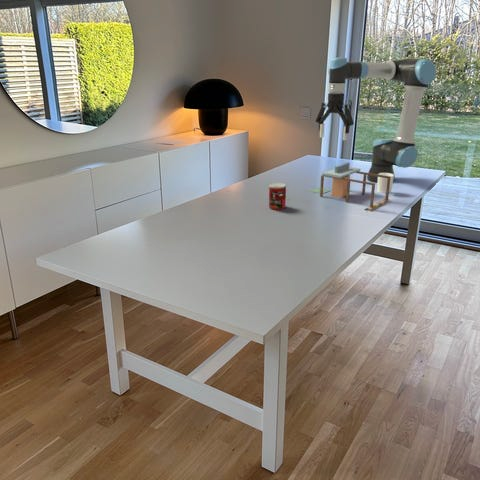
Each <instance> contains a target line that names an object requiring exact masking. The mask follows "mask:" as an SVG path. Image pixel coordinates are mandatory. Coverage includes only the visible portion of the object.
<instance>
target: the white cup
mask: <svg viewBox="0 0 480 480" xmlns="http://www.w3.org/2000/svg"><path fill="white" fill-rule="evenodd" d="M378 175H384V176H390V177H391V179H390V187H389V194H391V193H392V189H393V184H394V181H393V179H394V175H395V173H394V174H391V173H379V174H378ZM387 180H388V178H382V177H378V182H376V183H377V185H376V186H377V187H376V188H377V192H378V193H381V194H386V189H387Z"/></svg>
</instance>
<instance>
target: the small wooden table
mask: <svg viewBox="0 0 480 480" xmlns="http://www.w3.org/2000/svg"><path fill="white" fill-rule="evenodd" d="M355 174H360V175H363V177H362V179H363V180H359V179H353V178H350V179H348V178H338V177H332V176H327V175H323V173H322V174H321V175H320V187H319V188H320V194H319V197H320V198H323V196H324V194H323V189H324V181H325V178H331V179H333V178H335V179H341V180H346V181H347V193H346V196H345V197H343V198H342V197H337V196H332V194H329V195H328V196H330V197H335V198H339V199H345V202H346V203H349V202H350V196H351V194H350V189H351V182H352V183H356V184H362V189H361V190H362V191H361V196H365V195H366V186H367V185H370V186H371V192H370V202H369V203H370V204H369V206H368V207H366V208H364V209H363V210H364V211H367V210H368V211H369V212H371V211H374V210H375V209H377V208H379V207H381V206H382V205H385V204H387V203H388V202H390V198H389V195H390V193H389V187H390V179H391V177H390V176H384V175H378V174H372V173H368V172H364V171H358V172H356V173H355ZM367 175H371V176H376V177H382V178H388V180H387V189H386V193H385V198H384V199H382V200H381V201H378V202H376V203H374V201H375V200H374V198H375V192H376V190H375V188H376V182H371V181H367Z"/></svg>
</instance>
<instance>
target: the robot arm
mask: <svg viewBox="0 0 480 480" xmlns="http://www.w3.org/2000/svg"><path fill="white" fill-rule="evenodd" d="M327 73H328V77H329V79H328V93H327V102H322V103H321V107H320V109H319V112H318V114H317V116H316V119H315V122H316V123H318V131H319V138H320V139H321V138H324V137H325V125H326V124H325V121H326V120H327V118H328V117H329V116H330V114H333V113H334V114H338V115H339V117H340V119H341V120H342V122H343V124H344V125H343V133H342V134H343V135H342V141H347V140H348V134H349V133H350V127H352V126H353V125H354V124H355V123H354V120H353V116H352V113H351V107H350V104H349V103H347V104H344V102H345V93H344V92H345V91H346V90H345V88H346V80H357V79H358V80H360V79H384V80H386V81H395V82H399V83H403V87H404V89H405V93H404V99H403V102H402V103H403V104H402V109H401V111H400V112H401V114H400V119H399V121H398V126H397V127H398V128H397V132H396V136H395V138H379V139H378V138H377V139H375V140H374V141H373V145H372V155H371V156H372V157H371V166H370V168H369V170H368V172H367V173H372V174H379V173H391V174H394V179H393V182H395V179H396V177H395V171H394V166H395V167H398V168H403V169H407V168H409V167H411V166H412V165H414V163H416V161H417V159H418V155H419V151H418V149H417V147H416V141H415V140H414V137H415V132H416V128H417V123H418V119H419V115H420V109H421V106H422V105H421V104H422V100H423V95H424V92H425V91H426V90H427V89H428V88H429V85H430V84H432V83H433V81H434V80H435V78H436V76H437V75H436V74H437V68H436V65H435V64H434V61H432V60H431V59H427V58H405V59H395V60H388V61H386V62H382V61H381V62H379V61H378V62H369V61H368V62H367V61H348V59H347V57H332V58H331V59H330V62H329V65H328V67H327ZM325 111H326V112H325ZM366 181H368V182H371V183H377V182H378V177H376V176H371V175H366Z"/></svg>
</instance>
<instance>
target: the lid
mask: <svg viewBox="0 0 480 480" xmlns="http://www.w3.org/2000/svg"><path fill="white" fill-rule="evenodd" d="M350 164H351V163H350V162H345V163H342V164H339V165H335V166H334V168H332V169H330V170H327V171H324V172H322V174H323V175H327V176H332V177H338V178H342V177H345V176H348V175H350V176H351V175H353V174H357V173H356V172H358V171H359V172H361V168H357V167H350Z"/></svg>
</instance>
